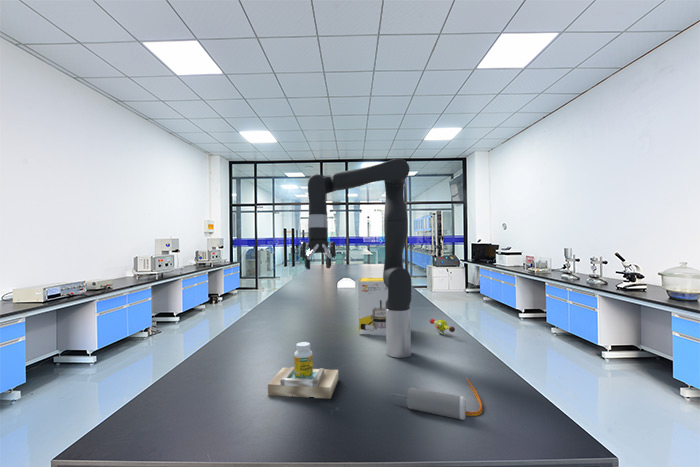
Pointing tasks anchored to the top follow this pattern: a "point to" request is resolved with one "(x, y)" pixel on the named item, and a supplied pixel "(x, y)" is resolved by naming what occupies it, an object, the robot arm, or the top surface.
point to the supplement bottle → (303, 361)
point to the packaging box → (372, 306)
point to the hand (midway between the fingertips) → (318, 268)
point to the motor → (439, 403)
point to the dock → (304, 384)
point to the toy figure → (442, 326)
